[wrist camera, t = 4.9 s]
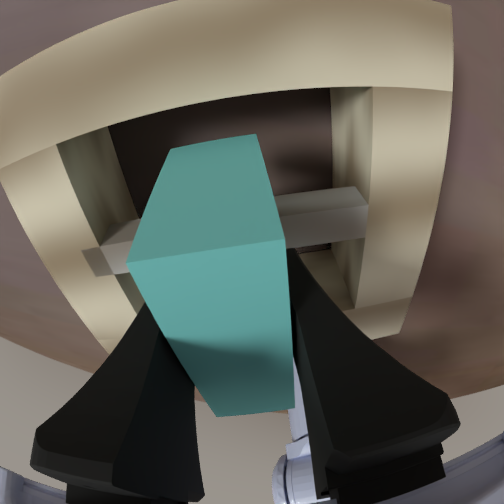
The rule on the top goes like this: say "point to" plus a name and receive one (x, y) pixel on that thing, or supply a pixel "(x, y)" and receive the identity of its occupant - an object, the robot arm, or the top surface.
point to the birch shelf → (230, 85)
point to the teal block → (219, 274)
